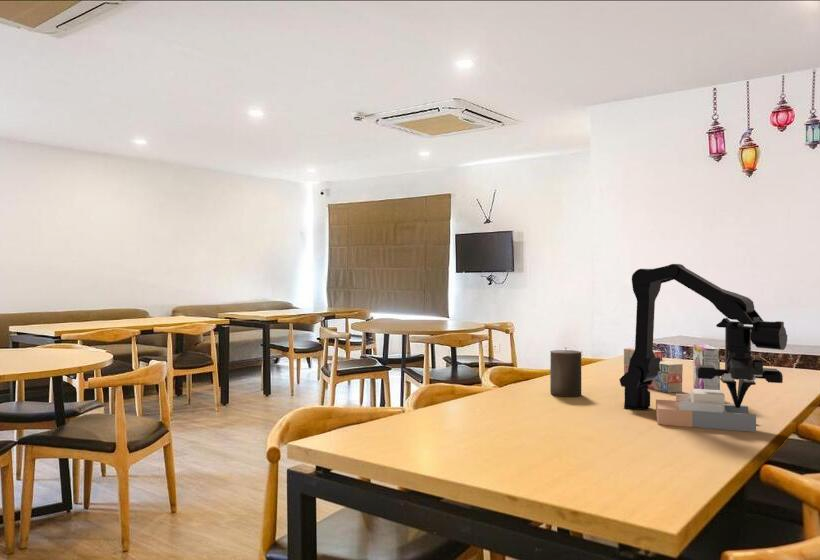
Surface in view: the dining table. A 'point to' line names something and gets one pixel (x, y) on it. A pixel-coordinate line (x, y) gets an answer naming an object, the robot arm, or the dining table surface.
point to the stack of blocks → (661, 373)
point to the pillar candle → (565, 373)
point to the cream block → (707, 396)
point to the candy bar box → (706, 357)
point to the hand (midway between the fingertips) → (737, 407)
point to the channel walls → (697, 404)
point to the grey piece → (705, 417)
